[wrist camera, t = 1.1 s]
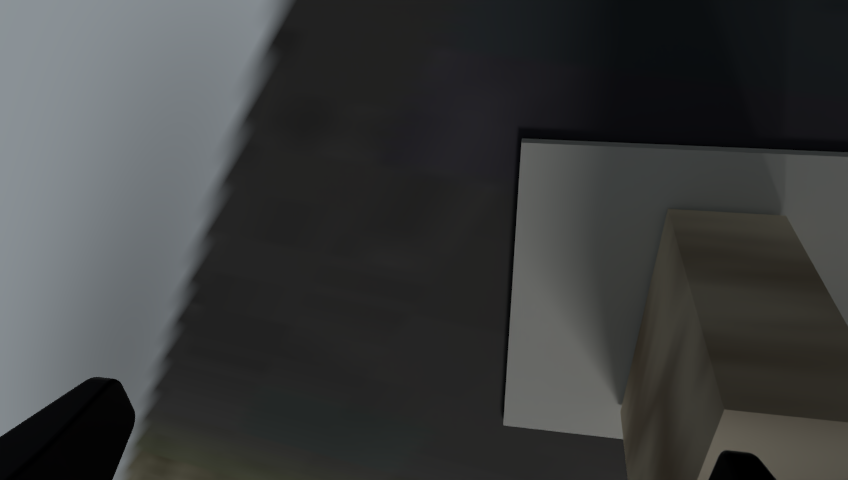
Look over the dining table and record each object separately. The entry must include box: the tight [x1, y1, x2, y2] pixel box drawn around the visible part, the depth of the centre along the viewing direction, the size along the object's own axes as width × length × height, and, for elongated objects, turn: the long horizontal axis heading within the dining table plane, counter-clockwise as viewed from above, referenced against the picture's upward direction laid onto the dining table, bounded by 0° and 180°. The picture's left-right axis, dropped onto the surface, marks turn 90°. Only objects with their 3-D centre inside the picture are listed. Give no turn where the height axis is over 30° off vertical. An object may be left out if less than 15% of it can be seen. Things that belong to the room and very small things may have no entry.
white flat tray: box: [503, 138, 848, 439], centre depth 22 cm, size 14×18×1 cm
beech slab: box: [620, 209, 848, 480], centre depth 19 cm, size 10×4×8 cm, turn 2°
